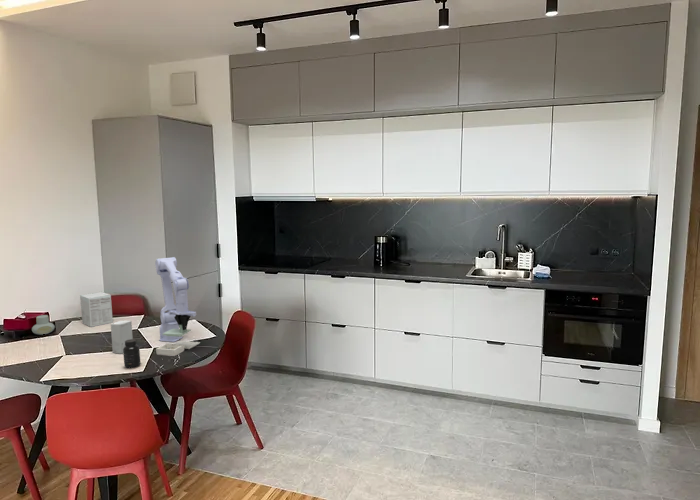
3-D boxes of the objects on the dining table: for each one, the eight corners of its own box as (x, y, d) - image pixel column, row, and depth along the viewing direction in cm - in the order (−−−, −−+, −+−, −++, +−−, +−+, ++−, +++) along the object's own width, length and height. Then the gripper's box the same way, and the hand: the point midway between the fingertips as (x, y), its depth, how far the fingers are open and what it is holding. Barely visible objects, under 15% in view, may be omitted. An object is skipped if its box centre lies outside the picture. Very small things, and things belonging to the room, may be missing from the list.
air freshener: (33, 337, 269) (31, 319, 268) (31, 333, 276) (29, 316, 274) (56, 333, 276) (54, 316, 275) (53, 330, 282) (52, 313, 281)
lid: (162, 336, 242) (161, 325, 242) (173, 331, 250) (172, 321, 250) (181, 337, 240) (180, 326, 239) (190, 332, 248) (189, 321, 247)
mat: (168, 347, 248) (168, 346, 248) (180, 341, 258) (180, 340, 258) (189, 349, 245) (189, 348, 245) (200, 342, 255) (200, 342, 255)
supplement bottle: (127, 363, 226) (125, 338, 224) (142, 363, 226) (141, 338, 225) (121, 369, 219) (120, 343, 217) (137, 368, 219) (135, 342, 218)
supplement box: (113, 322, 297) (111, 294, 295) (90, 327, 287) (88, 298, 285) (104, 319, 305) (102, 291, 303) (81, 323, 296) (79, 295, 293)
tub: (156, 354, 238) (156, 348, 237) (166, 349, 245) (166, 343, 245) (174, 356, 235) (174, 350, 235) (184, 350, 243) (183, 345, 242)
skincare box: (121, 354, 239) (119, 324, 237) (111, 353, 241) (109, 323, 239) (134, 348, 247) (132, 320, 245) (124, 347, 249) (122, 319, 247)
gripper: (164, 303, 240) (165, 330, 242) (190, 305, 236) (191, 332, 238) (172, 300, 247) (174, 326, 249) (198, 302, 243) (199, 328, 245)
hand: (183, 329), depth 244 cm, fingers closed on lid
